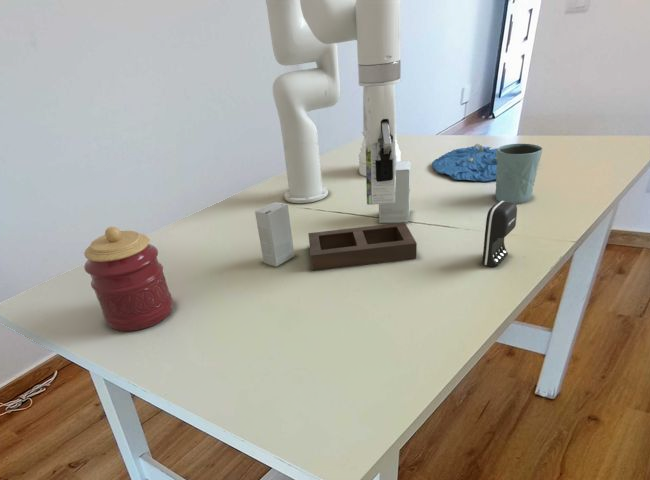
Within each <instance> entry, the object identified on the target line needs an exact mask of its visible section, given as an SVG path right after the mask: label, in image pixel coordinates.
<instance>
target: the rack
mask: <svg viewBox="0 0 650 480" xmlns="http://www.w3.org/2000/svg"><path fill="white" fill-rule="evenodd" d="M307 234H308V244H309V251H310V261H311V267H312V268H311V269H312V271H313V272H314V271H322V270H330V269H339V268H348V267H355V266H356V267H357V266H364V265H373V264H382V263H390V262H392V263H393V262H400V261H408V260H416V259H417V248H418V247H417V244H418V243H417V241H416V239H415V237H414V235H413V234H412V232H411V230H410V229H409V227H408V225H407V224H406V222H399V223H381V224H375V225H367V226H357V227H348V228H343V229H342V228H341V229H331V230H325V231H324V230H323V231H316V232H315V231H314V232H308V233H307Z"/></svg>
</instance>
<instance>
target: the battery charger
mask: <svg viewBox="0 0 650 480" xmlns="http://www.w3.org/2000/svg"><path fill="white" fill-rule="evenodd" d="M517 215H518V206H517V204H514V203H512V202H505V201H497V202H495V203H494V205H491V207H490V208H489V209H488V211H487V214H486V219H485V221H486V222H485V230H484V239H483V252H482V259H481V264H482V265H484V266H491V267H498V266H499V265H500V264H501V263H502V262H503V261H504V260H505V259H506V258H507V257H508V255H509V253H508V251H507V248H506V246H505V238H506V237H507V236H508V235H509V234H510V233H511V232H512V231H513V230H514V229H515V227H516V226H517V217H518V216H517Z"/></svg>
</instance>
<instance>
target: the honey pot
mask: <svg viewBox="0 0 650 480" xmlns="http://www.w3.org/2000/svg"><path fill="white" fill-rule="evenodd" d="M361 134H362V136H363V140H362V143H361V147H360V152H359V154H358V171H359V175H361V176H363V177H366V139H365V137H364V134H363V131H362V132H361ZM401 154H402V152H401V150H400V148H399V144H398V140H397V139H396V162H398V161H402V159H401V157H402V156H401Z"/></svg>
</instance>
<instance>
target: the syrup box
mask: <svg viewBox="0 0 650 480" xmlns="http://www.w3.org/2000/svg"><path fill="white" fill-rule="evenodd" d="M365 135H366V176H365V180H366V181H365V183H366V187H365V188H366V205H367V206H368V205H370V206H371V205H373V206H374V205H379V204H389V203H395V185H396V140H397V136H396V137H395V141H394V142H393V143H391V145H392V158H393V179H392V180H390V181H381V182H377V181H376V160H377V152H376V143H373V145H372V146H371V145H370V144H369V143H368V131H367V129H366V131H365ZM391 139H393V136H391ZM378 141H379V142H383V139H382V140H378ZM391 142H392V141H391ZM381 148H383V147H380V150H381Z"/></svg>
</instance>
